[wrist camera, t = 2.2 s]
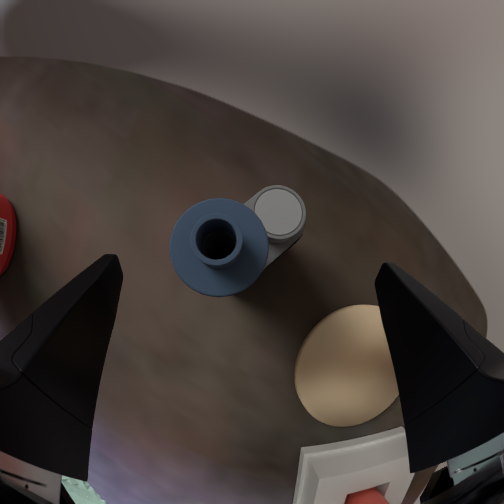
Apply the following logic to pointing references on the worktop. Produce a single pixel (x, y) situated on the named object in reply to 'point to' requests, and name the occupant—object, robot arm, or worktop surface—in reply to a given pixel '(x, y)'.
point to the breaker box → (354, 469)
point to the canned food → (6, 232)
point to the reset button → (366, 497)
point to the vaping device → (235, 239)
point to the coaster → (346, 367)
